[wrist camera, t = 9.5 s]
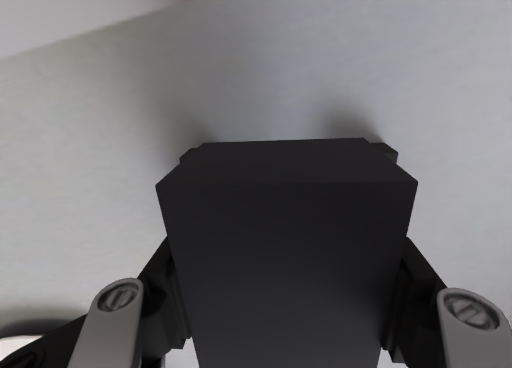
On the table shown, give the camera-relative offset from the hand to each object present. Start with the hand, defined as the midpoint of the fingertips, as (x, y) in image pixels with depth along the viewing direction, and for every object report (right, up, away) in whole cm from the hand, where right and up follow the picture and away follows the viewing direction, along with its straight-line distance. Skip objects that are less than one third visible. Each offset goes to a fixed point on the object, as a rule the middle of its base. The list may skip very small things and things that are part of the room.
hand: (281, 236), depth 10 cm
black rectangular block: (0, 0, 0) cm, 1 cm away
